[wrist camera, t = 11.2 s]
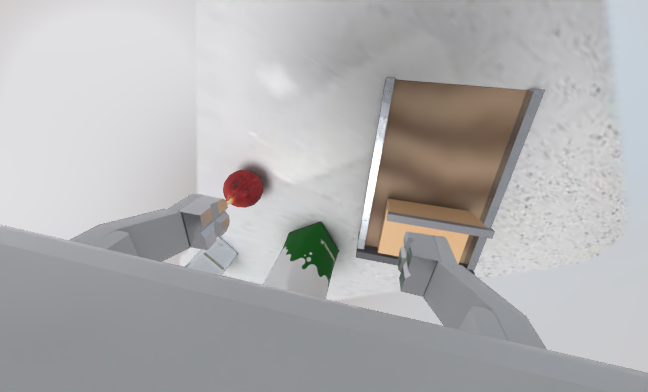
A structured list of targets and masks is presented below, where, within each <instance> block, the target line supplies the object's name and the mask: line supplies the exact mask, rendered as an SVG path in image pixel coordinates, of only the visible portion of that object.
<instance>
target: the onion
mask: <svg viewBox="0 0 648 392" xmlns="http://www.w3.org/2000/svg"><path fill="white" fill-rule="evenodd" d="M223 193H224V196H225V198H226V202H227V204H232V205H234V206H236V207H249V206H252V205H254V204H255V203H256V202H257V201H258V200H259V199H260V198H261V196H262V193H263V184H262V182H261V179H260V178H259V177H258V176H257V175H256V174H255V173H253V172H251V171H248V170H239V171H236V172H234V173H232V174H231V175H230V176H229V177H228V178H227V180H226V181H225V183H224V188H223Z"/></svg>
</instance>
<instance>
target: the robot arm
mask: <svg viewBox="0 0 648 392" xmlns="http://www.w3.org/2000/svg"><path fill="white" fill-rule="evenodd" d="M227 208H228V207H227V202H226V200H224V199H221V198H216V197H211V196H206V195H201V194H191V195H190V196H188V197H186V198H185V199H183V200H181V201H180V202H178V203H177V204H175V205H173V206H172V207H170V208H168V209H161V210H157V211H153V212H149V213H145V214H141V215H137V216H133V217H129V218H125V219H121V220H117V221H113V222H109V223H104V224H100V225H97V226H95V227H93V228H91V229H90V230H88V231H86V232H84V233H82V234H80V235H78V236H76V237H74V238H72V239H71V240H64V239H60V238H56V237H51V236H47V235H42V234H38V233H33V232H29V231H25V230H21V229H16V228H12V227H7V226H3V225H0V392H648V373H646V372H642V371H638V370H634V369H629V368H624V367H620V366H616V365H611V364H607V363H603V362H598V361H594V360H590V359H585V358H581V357H576V356H572V355H568V354H563V353H559V352H554V351H550V350H547V349H546V347H545V346H544V344H543V342H542V341H541V339H540V338H539V336H538V334H537V333H536V331H535V329H534V328H533V326H532V325H531V323H530V321H529V320H528V319H527V317H526V316H525V315H524V314H523V313H522V312H520V311H519V310H518V309H517V308H515V307H514V306H513V305H511V304H510V303H509V302H507V301H506V300H505V299H504V298H503V297H501V296H500V295H499V294H497V293H496V292H495V291H494V290H493V289H491V288H490V287H489V286H487V285H486V284H485V283H484V282H482V281H481V280H480V279H479V278H477V277H476V276H475V275H474V274H472V273H471V272H470V271H469V270H467V269H466V268H465V267H464V266H462V265H458V263H457V261H456V259H455V256H454V254H453V252H452V250H451V247H450V245H449V243H448V240H447V238H445V237H442V236H435V235H427V234H421V233H414V232H408V231H406V233H405V235H404V238H403V241H404V246H402V247H401V248H400V252H399V258H398V270H399V271H400V272H401V274H400V278H399V279H400V288H401V291H402V292H406V293H410V294H414V295H418V296H423V297H424V299H425V301H426V302H427V303H428V305H429V306H430V307H431V309H432V310H433V311H434V313H435V314H436V315H437V317H438V318H439V320H440V321H441V322H442V324H443V325H444V326H441V325H436V324H432V323H428V322H423V321H419V320H415V319H410V318H406V317H401V316H397V315H392V314H388V313H383V312H379V311H375V310H370V309H366V308H362V307H357V306H353V305H348V304H344V303H340V302H336V301H331V300H327V299H322V298H318V297H314V296H309V295H305V294H301V293H296V292H292V291H288V290H283V289H279V288H274V287H270V286H266V285H261V284H257V283H252V282H248V281H244V280H239V279H235V278H230V277H226V276H222V275H217V274H213V273H208V272H204V271H200V270H195V269H191V268H187V267H182V266H178V265H173V264H169V263H165V262H162V261H164V260H166V259H168V258H170V257H172V256H174V255H176V254H178V253H180V252H182V251H184V250H186V249H188V248H190V247H193V248H199V249H204V250H208V249H209V248H210V247H211V246H212V245H213V244H214V243H215V242H216V241H217V237H218V236H221V235H223V234H224V233H225V232H226V230H227V228H228V226H229V215H228V214H227V213H226V209H227Z"/></svg>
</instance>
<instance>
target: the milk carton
mask: <svg viewBox="0 0 648 392" xmlns="http://www.w3.org/2000/svg"><path fill="white" fill-rule="evenodd" d="M338 252H339V250H338V249H337V247H336V245H335V244H334V242H333V241H332V239H331V237H330V236H329V234H328V232H327V231H326V229H325V227H324V226H323V224H322V222H319V223H316V224H313V225H310V226H308V227H305V228H302V229H299V230H296V231H294V232H291V233H289V235H288V237H287V240H286V242H285V244H284V247H283V249H282V251H281V253H280V255H279V256H278V258H277V260H276V262H275V264H274V266H273V267H272V269H271V271H270V273H269V275H268V276H267V278H266V280H265V282H264V284H263V285H266V286H270V287H274V288H279V289H283V290H288V291H292V292H296V293H301V294H305V295H309V296H314V297H318V298H322V299H326V296H327V291H328V287H329V283H330V278H331V274H332V270H333V267H334V264H335V261H336V258H337V255H338Z"/></svg>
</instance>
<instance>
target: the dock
mask: <svg viewBox="0 0 648 392" xmlns="http://www.w3.org/2000/svg"><path fill="white" fill-rule="evenodd" d="M544 91H545V90H541V89H532V90H517V89H505V88H492V87H480V86H467V85H455V84H442V83H430V82H417V81H405V80H395V78H389V77H387V78H386V82H385V88H384V94H383V99H382V105H381V111H380V117H379V123H378V129H377V135H376V140H375V146H374V152H373V158H372V164H371V170H370V175H369V181H368V187H367V193H366V199H365V205H364V210H363V216H362V222H361V228H360V232H359V236H358V243H357V252H356V257H357V258H362V259H367V260H372V261H377V262H383V263H388V264H393V265H398V258H399V257H398V256H393V255H388V254H382V253H378V243H379V238H380V233H381V228H382V223H383V219H384V214H385V209H386V204H387V199H394V200H401V201H407V202H414V203H420V204H427V205H433V206H440V207H446V208H452V209H459V210H465V211H471V212H472V213H473V214H474V215H475V216H476V217H477V218H478V219H479V220H480V221H481V222H482V223H483V224H484V225H486V226H487V227H488V228H491V227H492V224H493V221H494V219H495V216H496V214H497V211H498V209H499V206H500V204H501V201H502V198H503V196H504V193H505V191H506V188H507V186H508V183H509V181H510V178H511V176H512V173H513V170H514V168H515V165H516V163H517V160H518V158H519V155H520V153H521V150H522V148H523V145H524V142H525V140H526V137H527V135H528V132H529V130H530V127H531V125H532V122H533V119H534V117H535V114H536V112H537V109H538V107H539V104H540V102H541V99H542V97H543V94H544ZM486 239H487V238H486V237H480V236H474V235H469V236H468V239H467V242H466V245H465V248H464V250H463V253H462V256H461V259H460V262H459V264H458V265H462V266H464V267H465V268H466V269H467V270H469V271H470V272H471V273H472V274H474V275H475V273H474V271H473V270H475V267H476V265H477V262H478V260H479V257H480V255H481V252H482V249H483V247H484V244H485V242H486Z"/></svg>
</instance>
